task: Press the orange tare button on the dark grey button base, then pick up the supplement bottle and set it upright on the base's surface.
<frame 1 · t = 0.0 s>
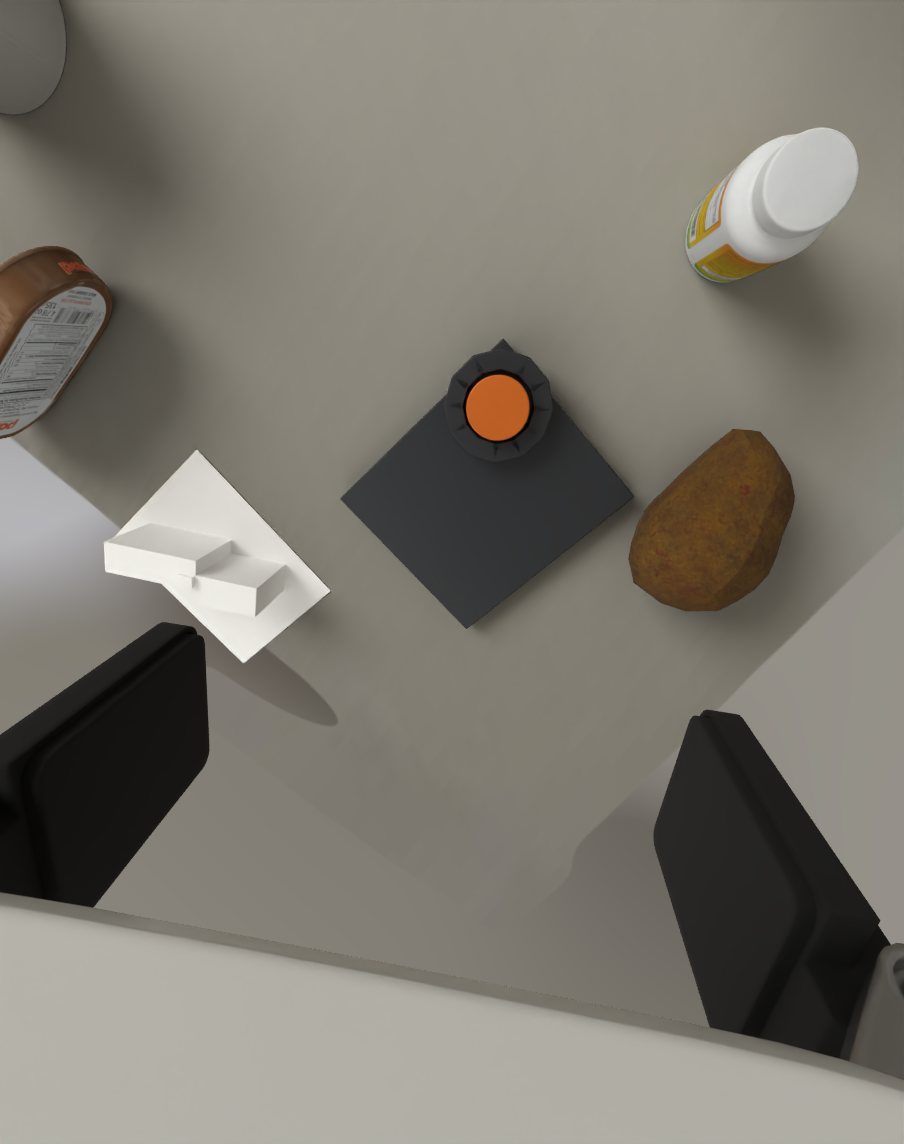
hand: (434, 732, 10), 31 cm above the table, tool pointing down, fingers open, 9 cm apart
tare button: (498, 407, 35), point 3 cm above the table, slide at 0.1 cm
tin: (72, 356, 40), on the table
napkin holder: (223, 563, 44), on the table
potato: (695, 517, 39), on the table
dark grey button base: (483, 493, 40), on the table
supplement bottle: (727, 235, 33), on the table
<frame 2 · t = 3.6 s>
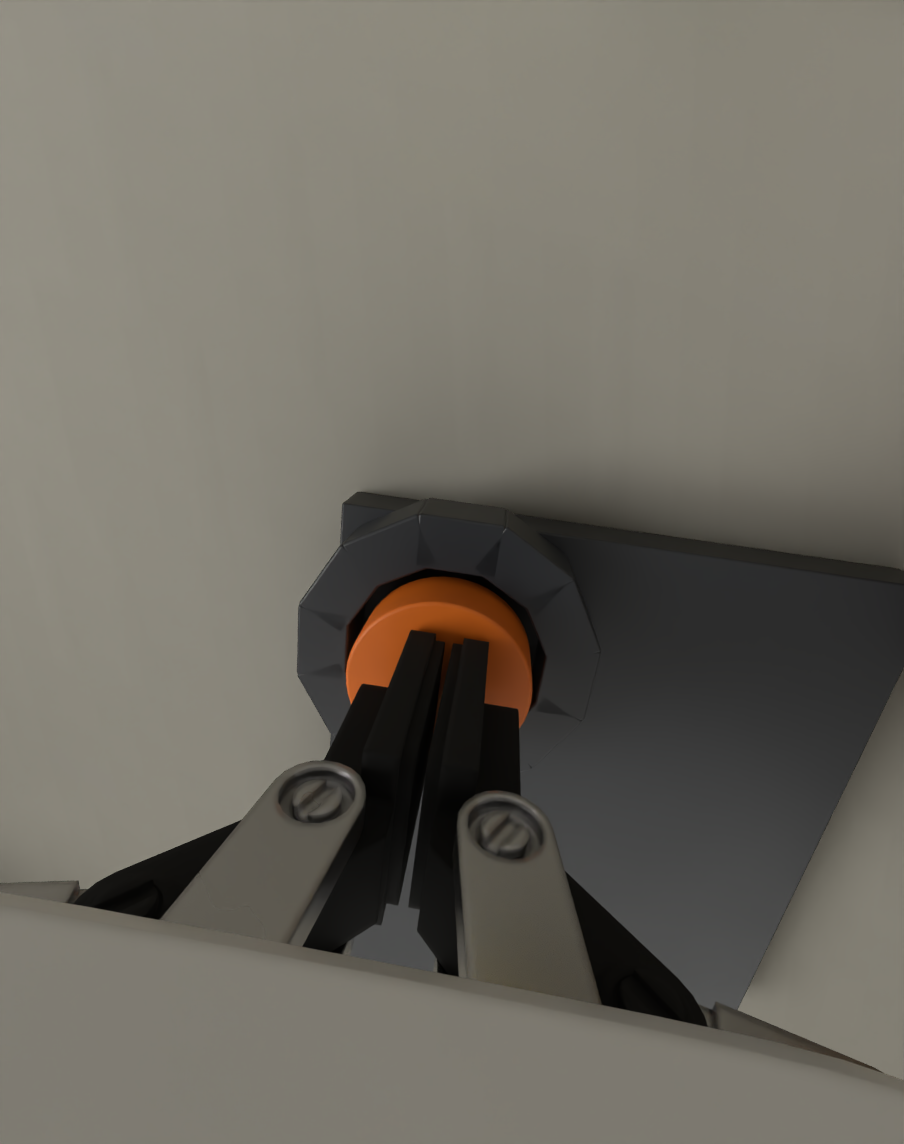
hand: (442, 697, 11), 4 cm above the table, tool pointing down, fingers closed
tare button: (441, 670, 12), point 3 cm above the table, slide at 0.0 cm, touching gripper
dark grey button base: (562, 774, 17), on the table
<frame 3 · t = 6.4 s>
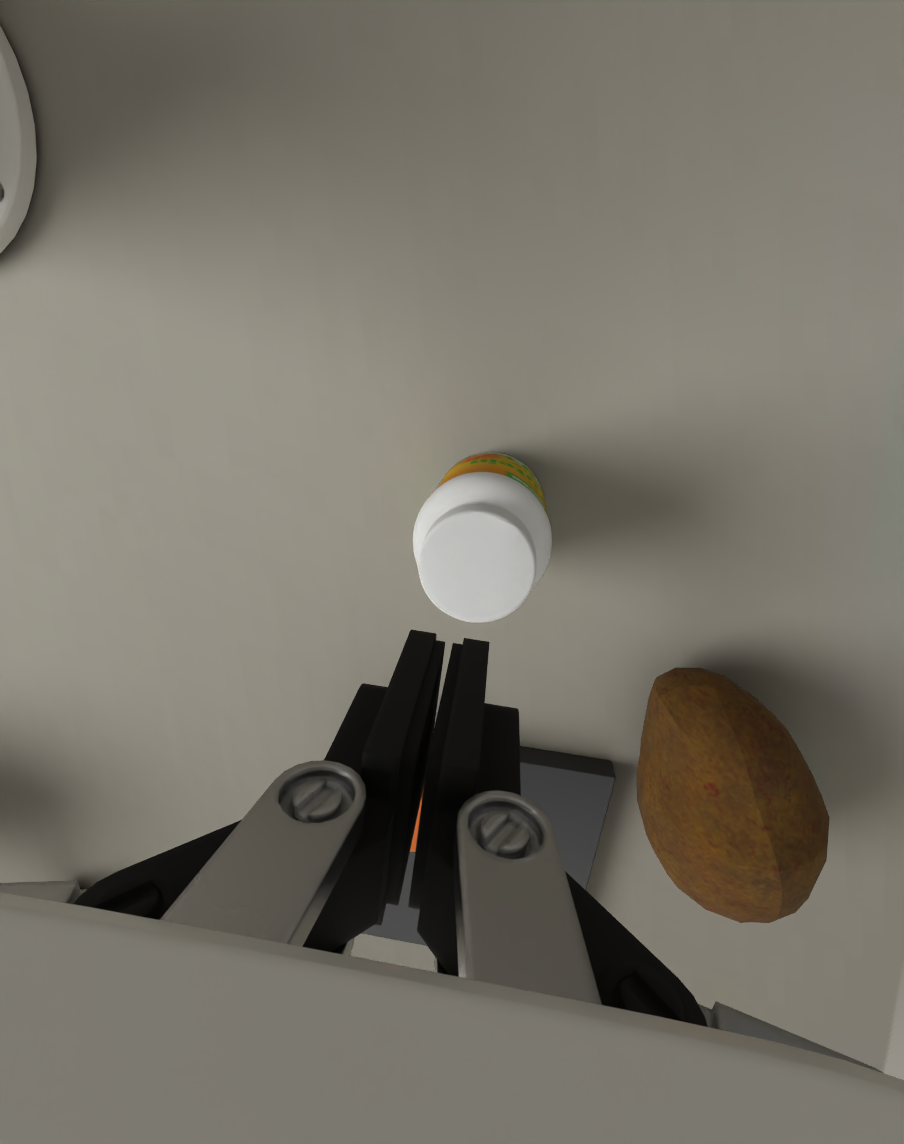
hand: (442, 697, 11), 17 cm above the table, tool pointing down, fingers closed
tare button: (410, 813, 30), point 3 cm above the table, slide at 0.1 cm
potato: (702, 738, 30), on the table
dark grey button base: (475, 844, 34), on the table
supplement bottle: (490, 504, 27), on the table
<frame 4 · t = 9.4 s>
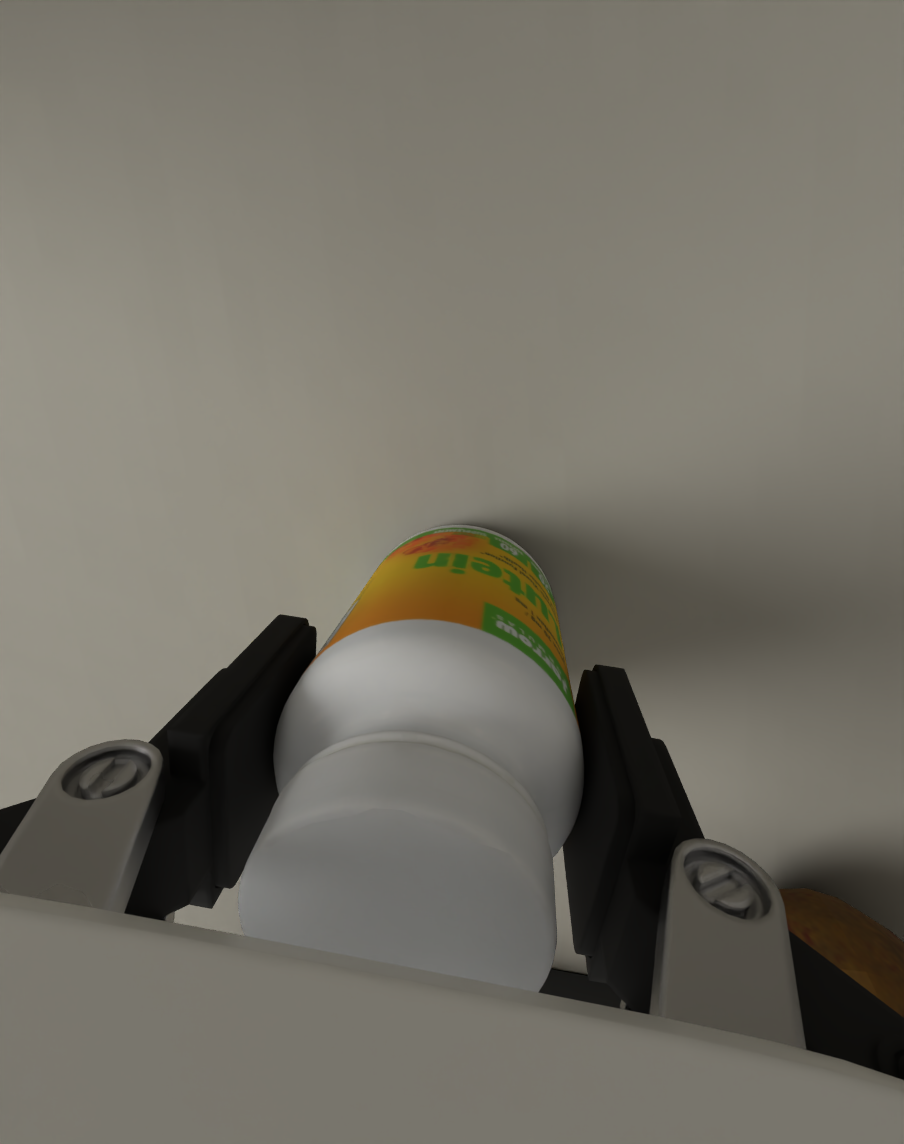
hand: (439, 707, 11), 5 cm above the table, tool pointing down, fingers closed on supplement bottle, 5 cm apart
potato: (798, 963, 19), on the table
dark grey button base: (441, 1078, 23), on the table
supplement bottle: (461, 607, 16), on the table, touching gripper
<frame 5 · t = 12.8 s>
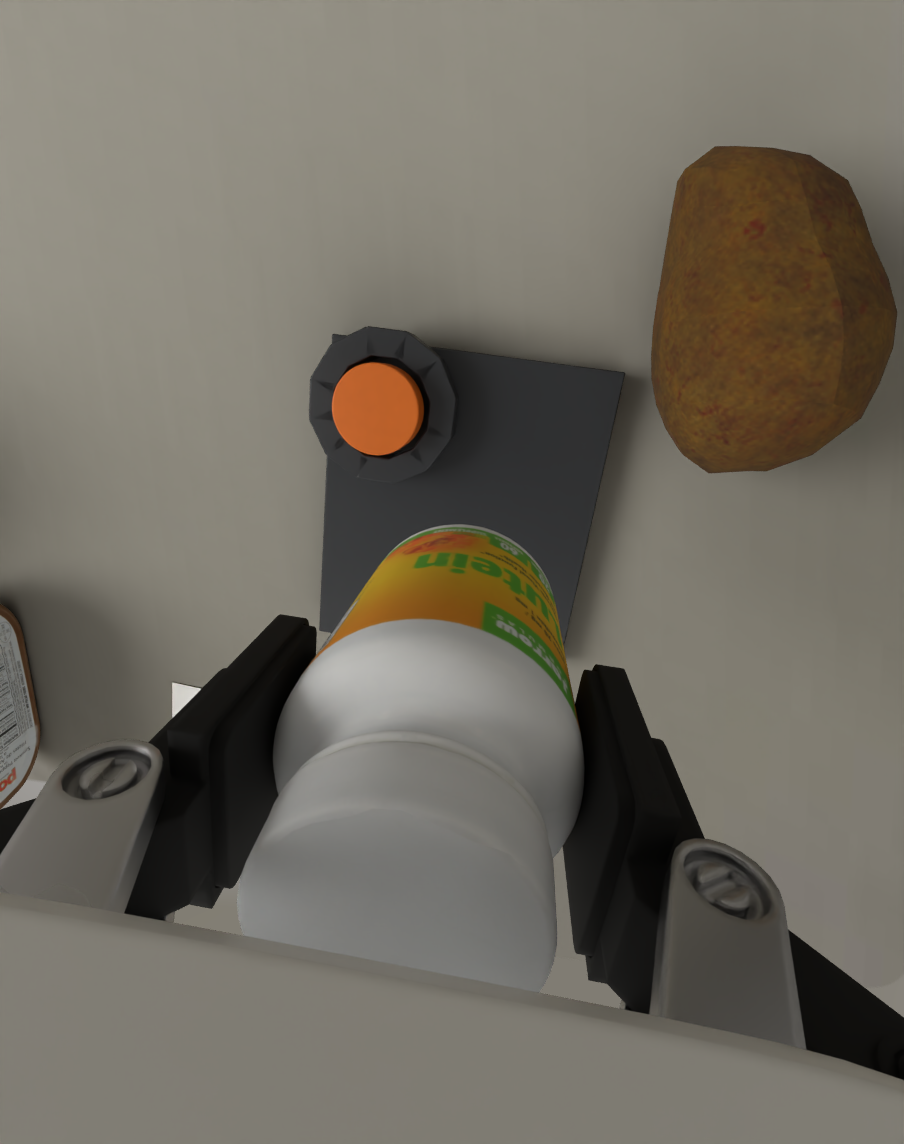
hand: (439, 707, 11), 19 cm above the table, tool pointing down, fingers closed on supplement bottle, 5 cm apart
tare button: (378, 409, 25), point 3 cm above the table, slide at 0.1 cm
tin: (23, 676, 37), on the table
napkin holder: (277, 771, 37), on the table
potato: (728, 333, 25), on the table
dark grey button base: (457, 510, 29), on the table
supplement bottle: (461, 607, 16), point 14 cm above the table, touching gripper
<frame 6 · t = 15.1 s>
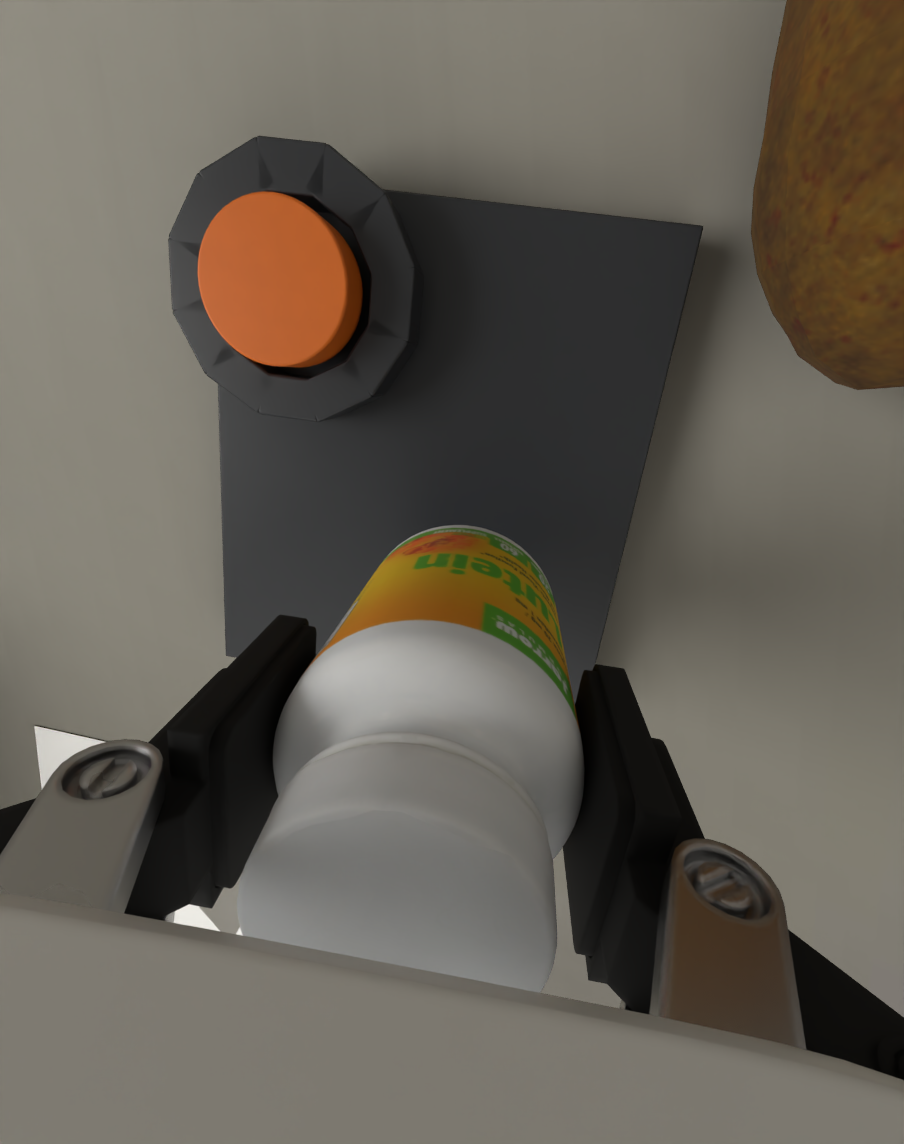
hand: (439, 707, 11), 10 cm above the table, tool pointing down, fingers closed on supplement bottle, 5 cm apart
tare button: (283, 287, 14), point 3 cm above the table, slide at 0.1 cm
napkin holder: (188, 845, 27), on the table
potato: (876, 162, 15), on the table
dark grey button base: (428, 472, 19), on the table
supplement bottle: (461, 608, 16), point 5 cm above the table, touching gripper
when the fingers open (6 cm above the table, at t = 16.6 s): supplement bottle stays where it is, resting on dark grey button base.
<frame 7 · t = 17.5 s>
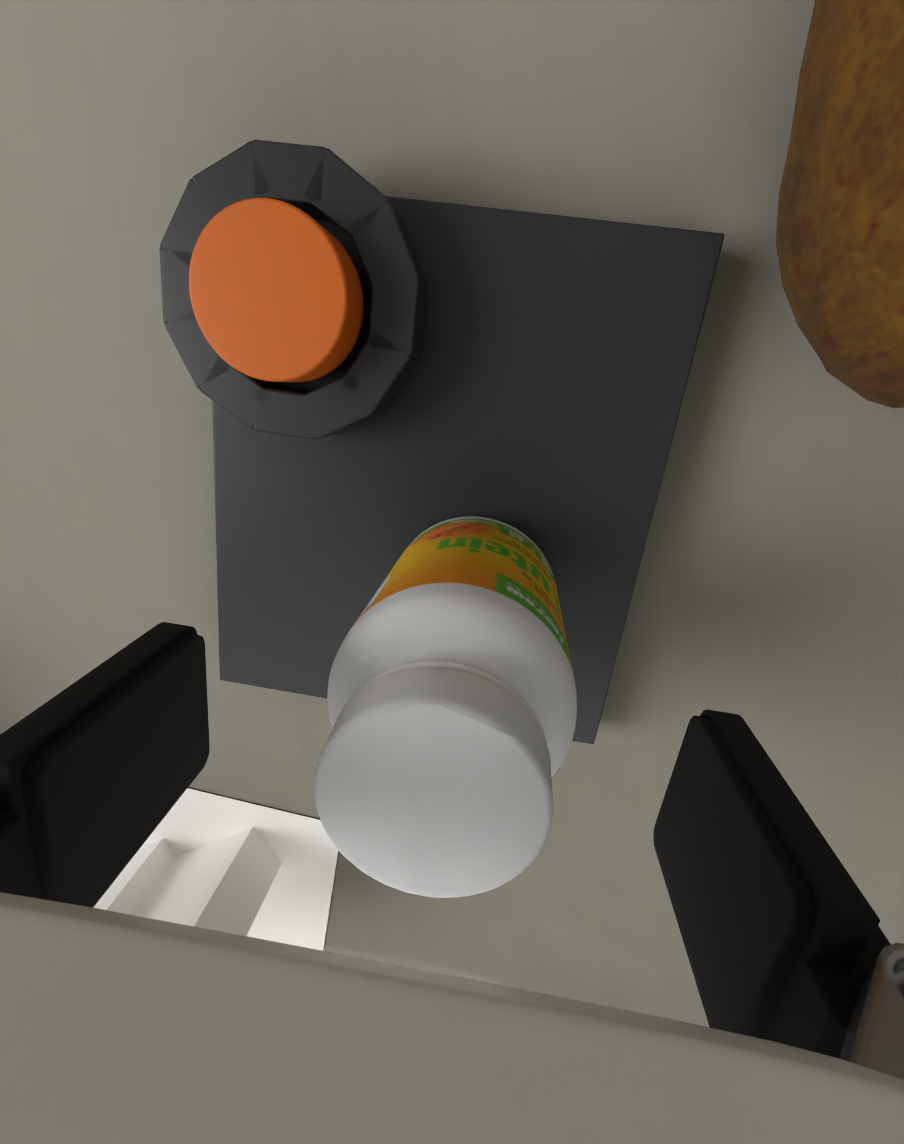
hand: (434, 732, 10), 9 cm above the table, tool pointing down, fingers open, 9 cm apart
tare button: (279, 298, 14), point 3 cm above the table, slide at 0.1 cm
napkin holder: (181, 874, 26), on the table
dark grey button base: (432, 490, 18), on the table
supplement bottle: (473, 590, 18), point 1 cm above the table, touching dark grey button base
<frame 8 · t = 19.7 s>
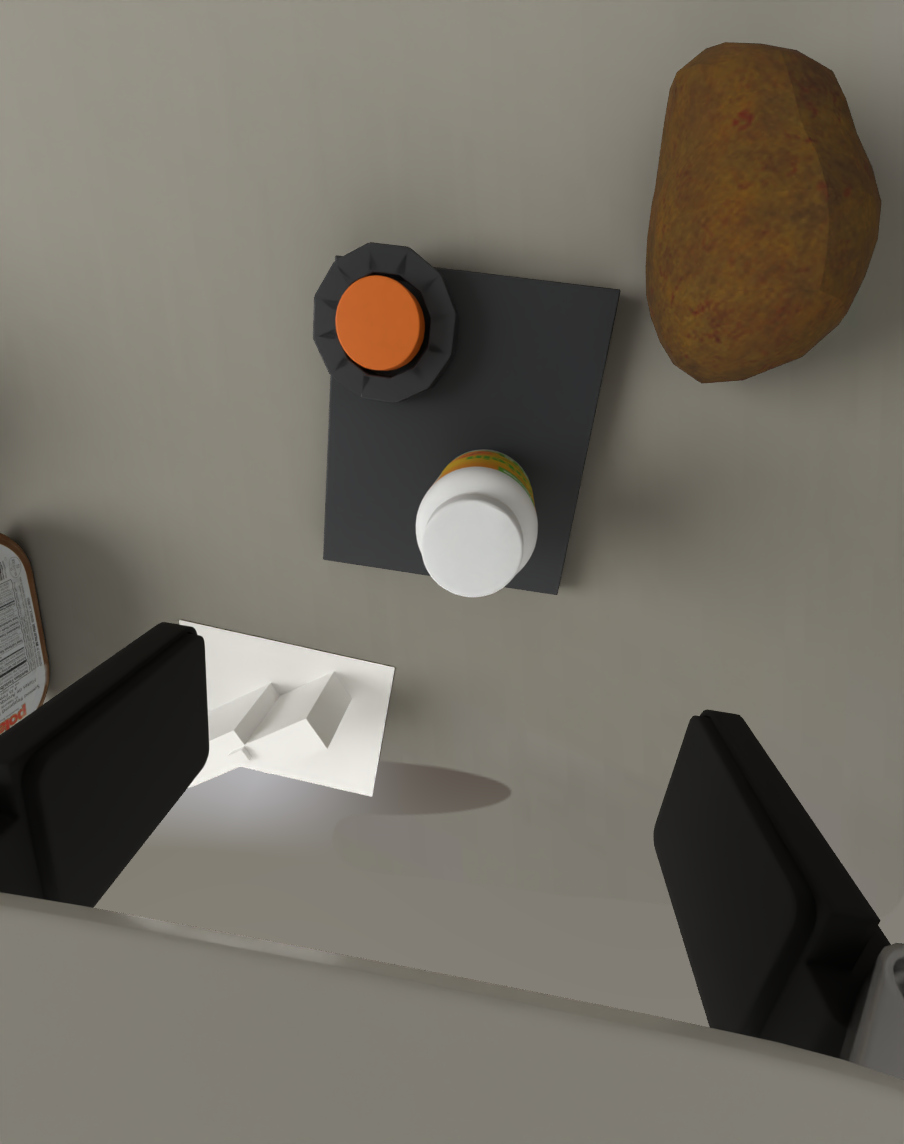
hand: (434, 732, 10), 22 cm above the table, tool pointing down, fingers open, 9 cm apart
tare button: (381, 325, 25), point 3 cm above the table, slide at 0.1 cm
tin: (32, 615, 37), on the table
napkin holder: (281, 710, 38), on the table
potato: (721, 252, 26), on the table
dark grey button base: (457, 436, 30), on the table
supplement bottle: (483, 496, 30), point 1 cm above the table, touching dark grey button base
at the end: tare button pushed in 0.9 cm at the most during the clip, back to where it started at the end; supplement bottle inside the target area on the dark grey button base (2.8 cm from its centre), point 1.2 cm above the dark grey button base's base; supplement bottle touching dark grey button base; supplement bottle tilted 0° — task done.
